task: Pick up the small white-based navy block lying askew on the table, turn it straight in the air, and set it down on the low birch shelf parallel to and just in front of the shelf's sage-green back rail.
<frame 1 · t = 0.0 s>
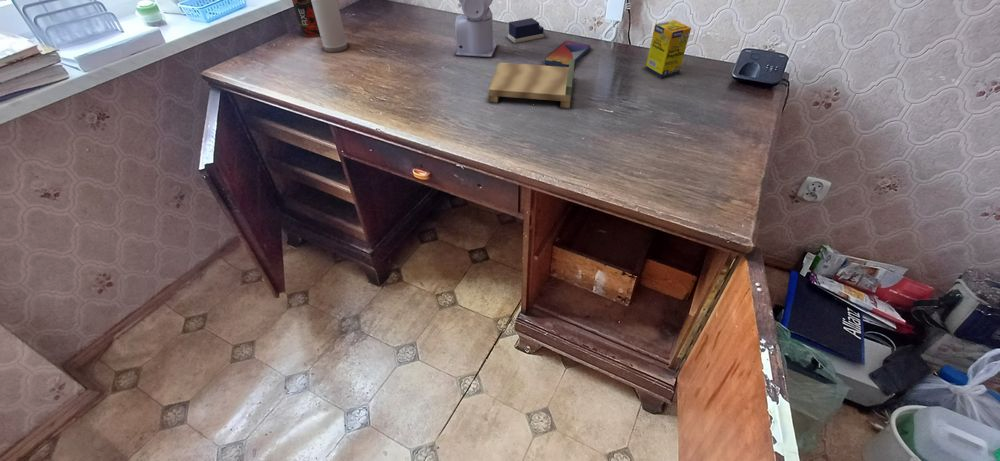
shelf: (532, 90, 108), on the table
smartphone: (567, 56, 122), on the table
travel mug: (335, 48, 126), on the table
deodorant: (312, 33, 134), on the table
supplement box: (661, 71, 115), on the table
white-based navy block: (525, 37, 131), on the table
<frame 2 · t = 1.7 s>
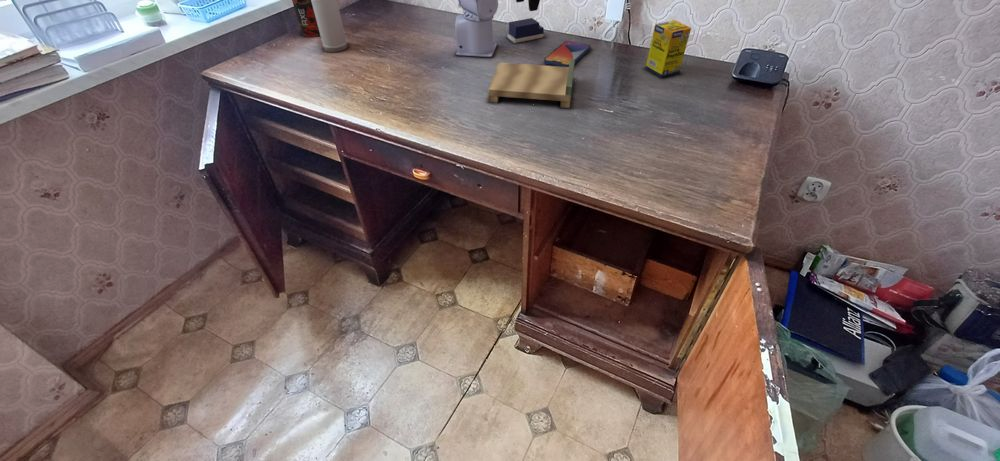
hand: (526, 5, 125), 8 cm above the table, tool pointing down, fingers open, 7 cm apart
nothing on the table moved.
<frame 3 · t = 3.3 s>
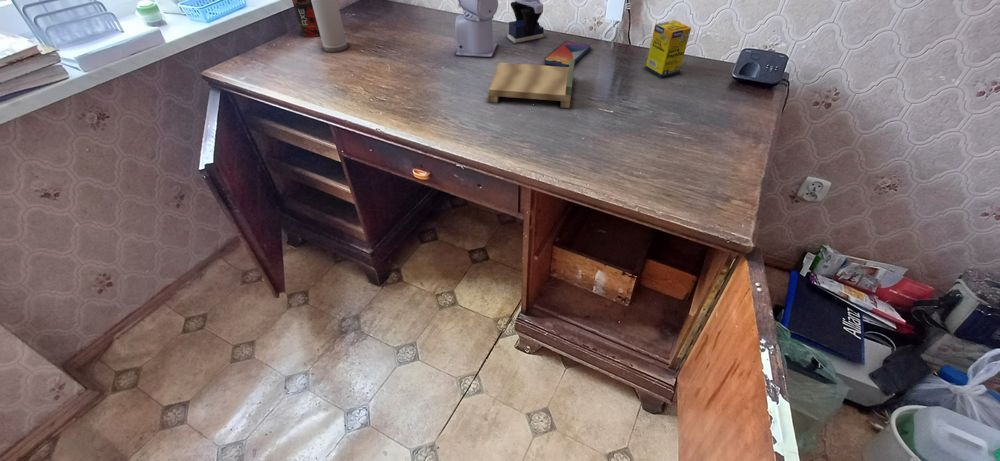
hand: (525, 32, 130), 1 cm above the table, tool pointing down, fingers closed on white-based navy block, 4 cm apart
white-based navy block: (525, 37, 131), on the table, touching gripper
everything else where it was.
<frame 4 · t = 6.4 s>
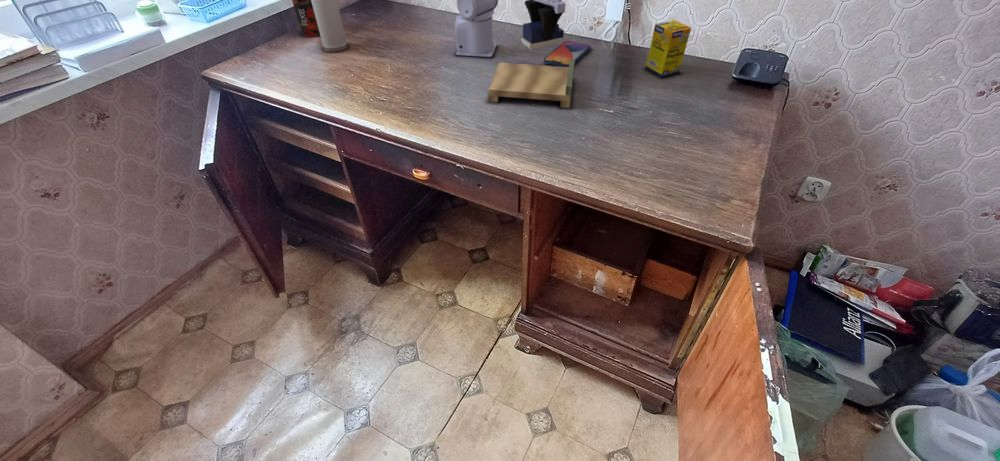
hand: (542, 36, 110), 8 cm above the table, tool pointing down, fingers closed on white-based navy block, 4 cm apart
white-based navy block: (542, 41, 111), point 7 cm above the table, touching gripper
everything else where it was.
when the fingers open (4 cm above the table, at t = 9.7 s): white-based navy block stays where it is, resting on shelf.
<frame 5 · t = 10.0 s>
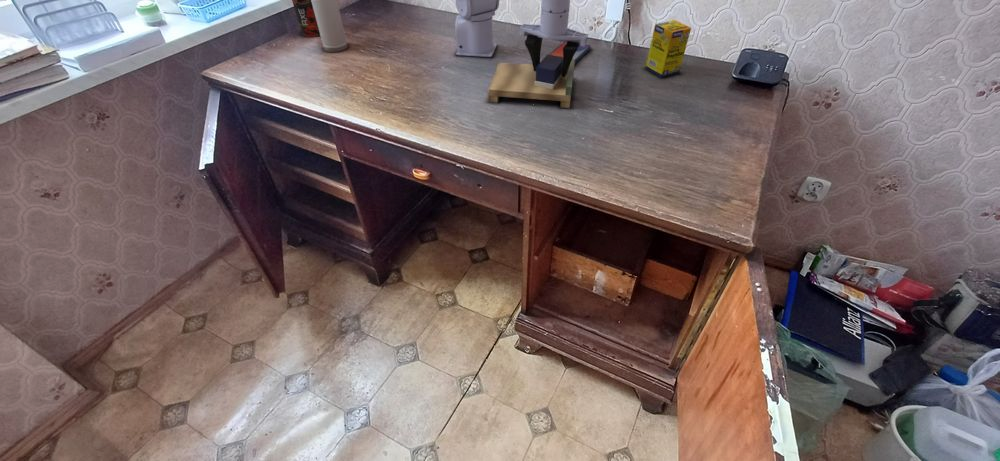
hand: (550, 72, 104), 5 cm above the table, tool pointing down, fingers open, 6 cm apart
white-based navy block: (550, 78, 106), point 3 cm above the table, touching shelf
everything else where it was.
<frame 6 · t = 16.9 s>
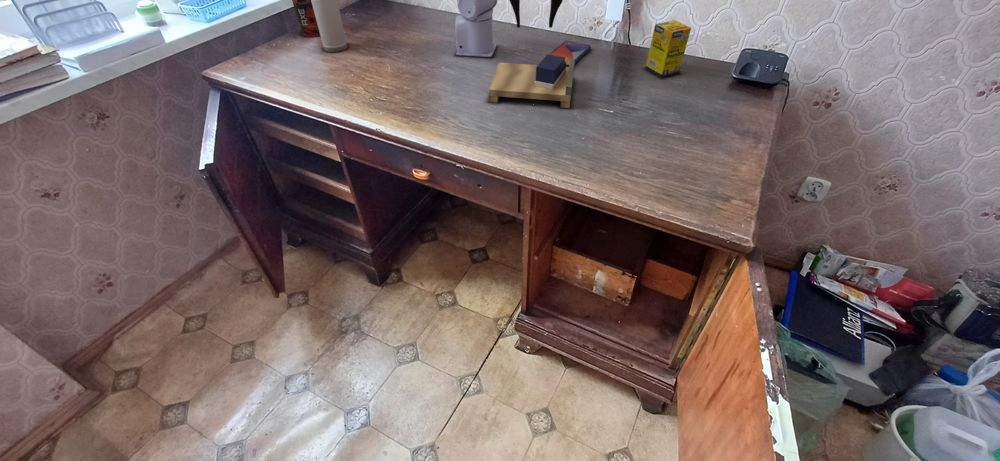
hand: (534, 26, 112), 9 cm above the table, tool pointing down, fingers open, 7 cm apart
nothing on the table moved.
at the end: white-based navy block inside the target area on the shelf (0.2 cm from its centre), point 3.0 cm above the shelf's base; white-based navy block tilted 0°; the gripper is holding nothing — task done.
